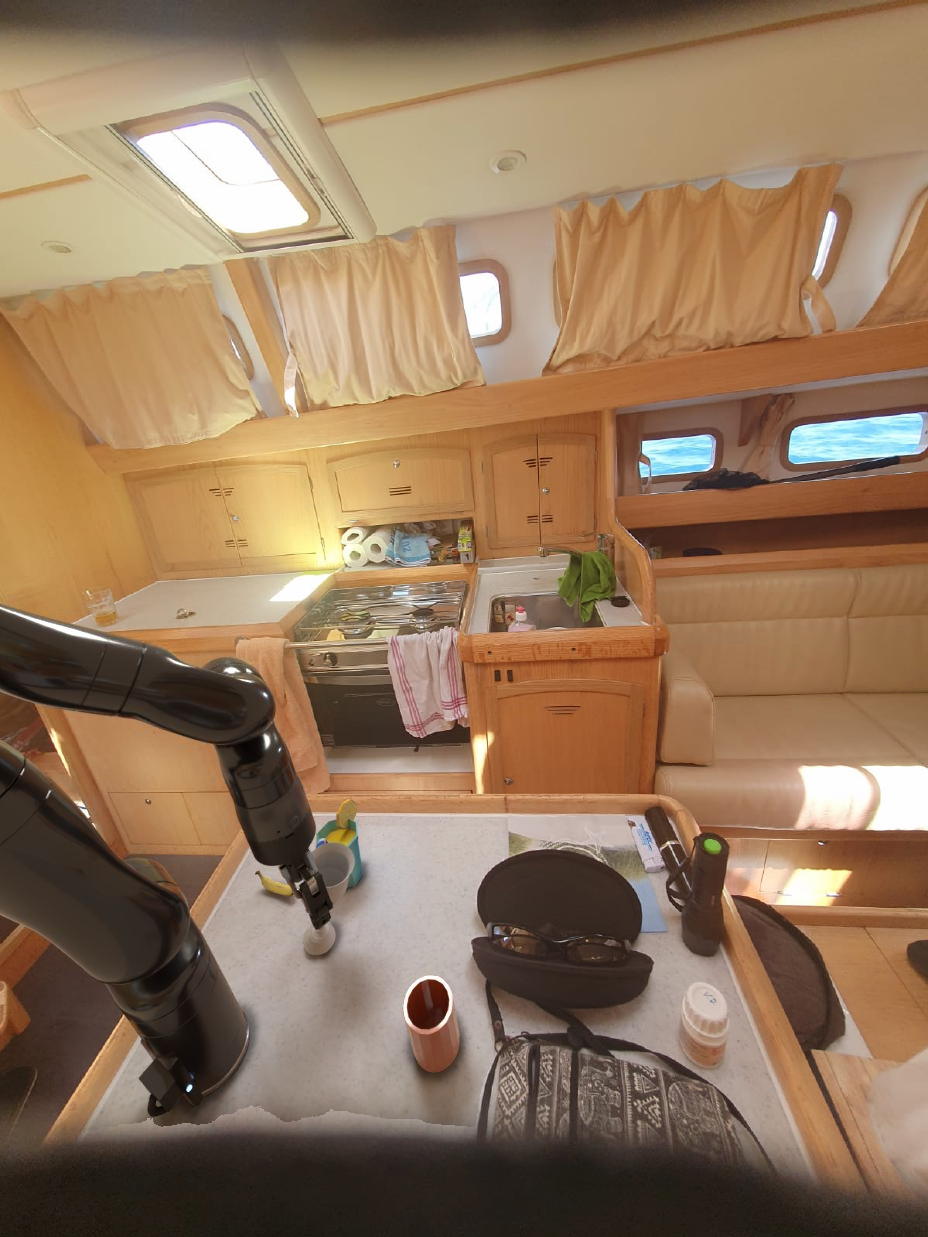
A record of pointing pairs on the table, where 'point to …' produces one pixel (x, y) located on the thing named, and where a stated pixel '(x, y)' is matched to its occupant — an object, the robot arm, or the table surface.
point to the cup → (344, 836)
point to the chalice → (329, 890)
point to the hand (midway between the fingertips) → (308, 900)
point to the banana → (275, 886)
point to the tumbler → (432, 1023)
